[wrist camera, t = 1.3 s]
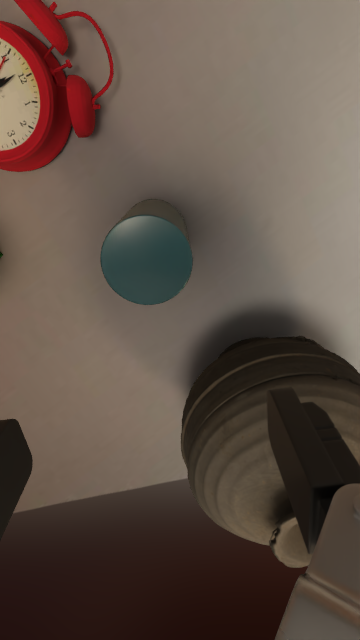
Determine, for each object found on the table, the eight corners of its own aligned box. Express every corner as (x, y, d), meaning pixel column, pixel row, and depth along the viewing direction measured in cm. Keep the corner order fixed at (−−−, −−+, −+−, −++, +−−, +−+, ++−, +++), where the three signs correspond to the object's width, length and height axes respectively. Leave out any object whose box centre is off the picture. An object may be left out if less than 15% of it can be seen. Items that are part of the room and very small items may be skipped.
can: (109, 224, 33) (80, 250, 23) (162, 185, 32) (157, 194, 21) (147, 276, 35) (137, 320, 25) (199, 241, 34) (210, 273, 24)
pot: (204, 460, 44) (227, 651, 26) (157, 338, 39) (141, 467, 20) (342, 421, 43) (475, 594, 24) (313, 288, 37) (456, 377, 18)
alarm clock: (-133, 53, 24) (30, -85, 19) (-62, 67, 30) (79, -39, 24) (-40, 198, 28) (114, 116, 23) (7, 187, 34) (141, 118, 28)
